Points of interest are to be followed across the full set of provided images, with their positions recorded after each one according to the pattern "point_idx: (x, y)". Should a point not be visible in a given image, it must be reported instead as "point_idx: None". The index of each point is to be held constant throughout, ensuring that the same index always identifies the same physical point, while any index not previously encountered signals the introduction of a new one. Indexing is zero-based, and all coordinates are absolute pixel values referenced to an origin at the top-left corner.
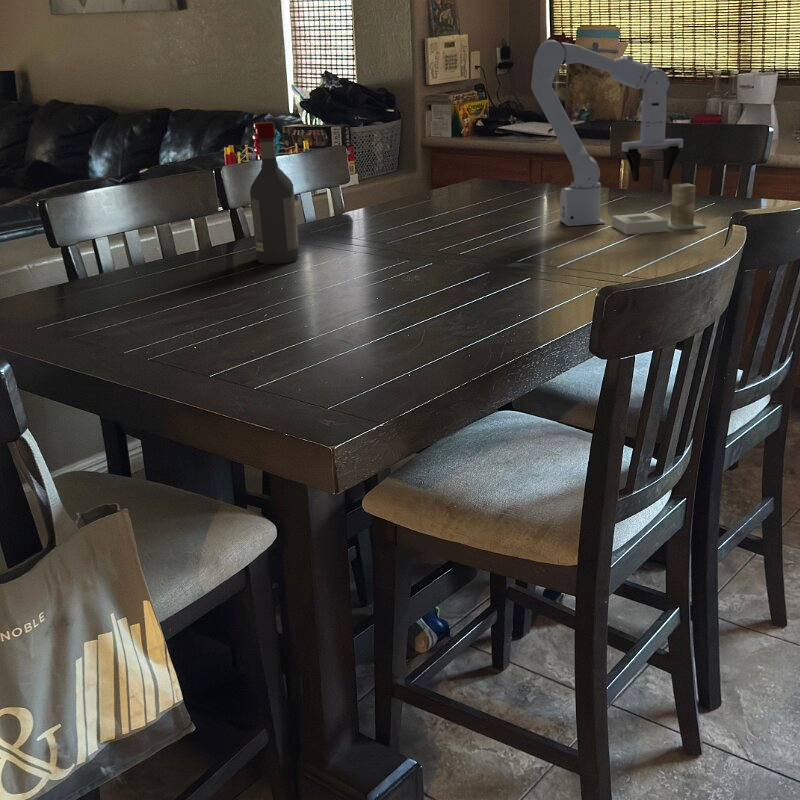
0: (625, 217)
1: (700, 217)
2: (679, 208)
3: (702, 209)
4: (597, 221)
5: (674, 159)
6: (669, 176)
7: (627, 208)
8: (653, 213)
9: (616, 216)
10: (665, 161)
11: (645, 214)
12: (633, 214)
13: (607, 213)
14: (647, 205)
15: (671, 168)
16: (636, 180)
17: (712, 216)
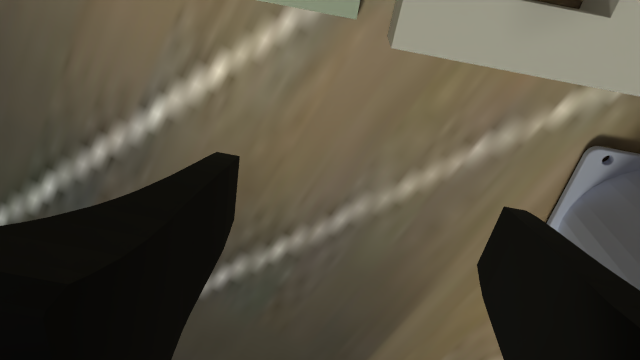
0: (623, 6)
1: (93, 29)
2: None
3: (29, 181)
4: (621, 170)
5: (75, 217)
6: (205, 157)
7: (297, 337)
8: (397, 24)
9: (636, 67)
10: (172, 315)
11: (456, 23)
12: (513, 65)
13: (416, 309)
14: (206, 339)
15: (162, 181)
16: (530, 213)
17: (27, 17)
